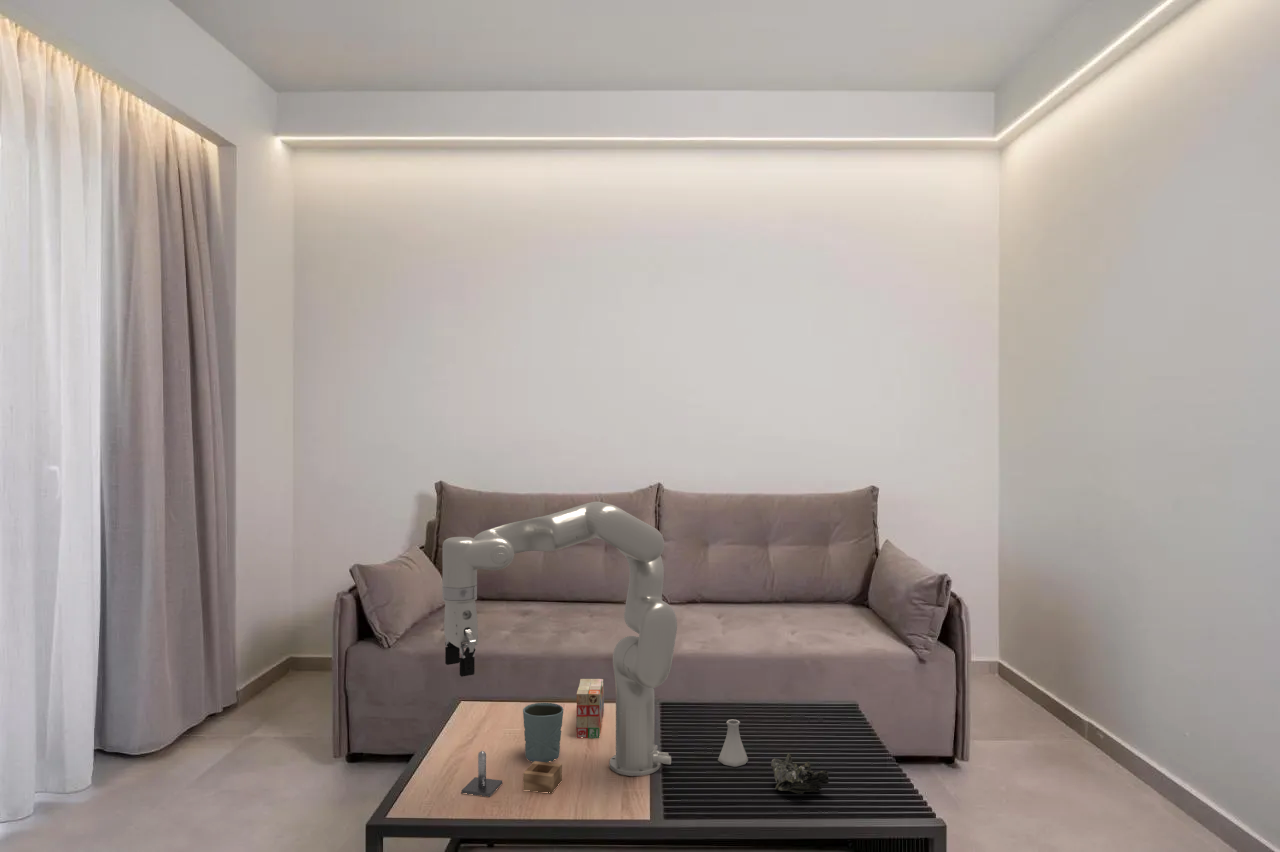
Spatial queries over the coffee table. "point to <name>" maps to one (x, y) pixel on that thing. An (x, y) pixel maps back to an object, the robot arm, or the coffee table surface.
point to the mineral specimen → (797, 776)
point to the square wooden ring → (542, 776)
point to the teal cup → (542, 731)
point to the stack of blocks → (590, 708)
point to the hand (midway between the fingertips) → (459, 669)
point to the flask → (733, 746)
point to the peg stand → (482, 780)
